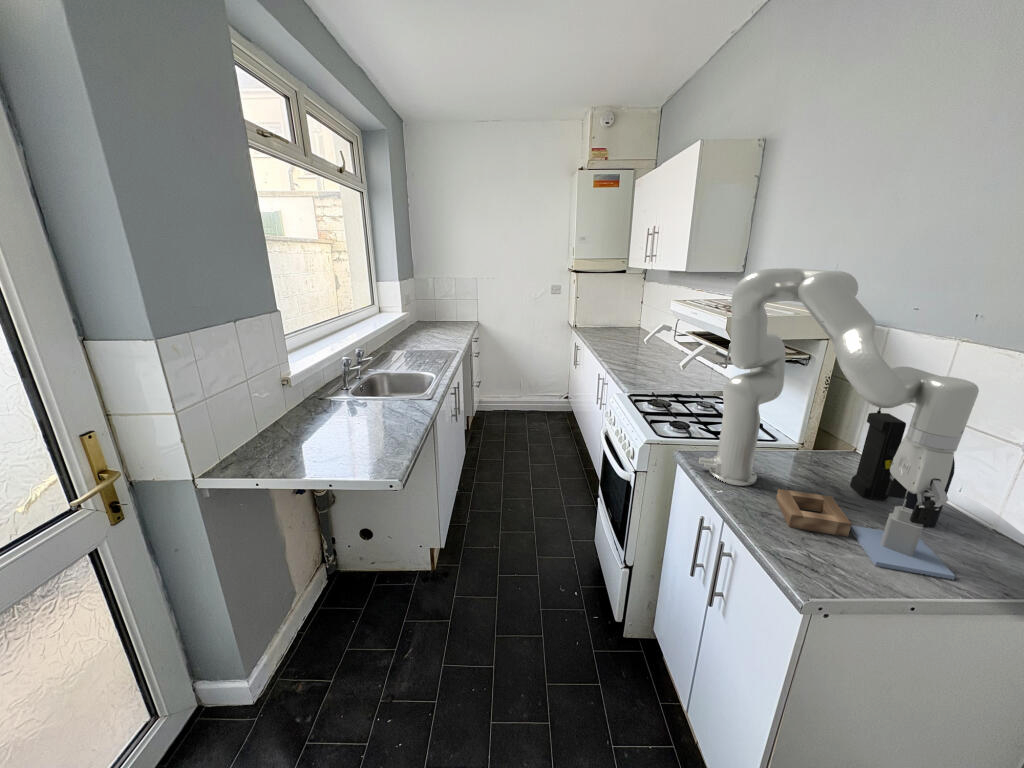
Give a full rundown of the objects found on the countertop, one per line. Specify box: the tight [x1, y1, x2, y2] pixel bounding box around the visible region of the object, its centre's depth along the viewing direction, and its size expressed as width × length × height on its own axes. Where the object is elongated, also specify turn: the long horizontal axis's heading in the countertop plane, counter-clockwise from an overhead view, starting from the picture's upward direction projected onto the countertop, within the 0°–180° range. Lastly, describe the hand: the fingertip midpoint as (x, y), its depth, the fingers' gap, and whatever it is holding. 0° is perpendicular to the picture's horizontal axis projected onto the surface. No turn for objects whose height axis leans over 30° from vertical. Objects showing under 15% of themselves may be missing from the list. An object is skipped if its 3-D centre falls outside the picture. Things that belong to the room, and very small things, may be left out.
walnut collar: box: [775, 488, 852, 538], centre depth 103 cm, size 12×12×4 cm
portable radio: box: [849, 407, 907, 501], centre depth 109 cm, size 8×6×25 cm
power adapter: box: [881, 498, 924, 556], centre depth 89 cm, size 3×5×12 cm, turn 44°
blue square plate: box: [849, 525, 956, 581], centre depth 91 cm, size 13×13×1 cm
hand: (906, 509), depth 88 cm, fingers open, 9 cm apart
